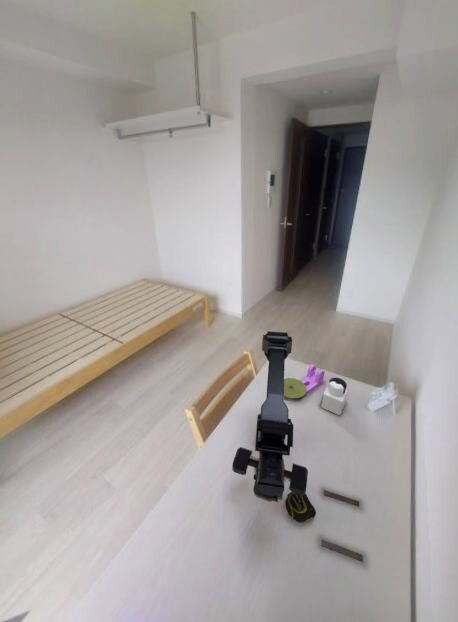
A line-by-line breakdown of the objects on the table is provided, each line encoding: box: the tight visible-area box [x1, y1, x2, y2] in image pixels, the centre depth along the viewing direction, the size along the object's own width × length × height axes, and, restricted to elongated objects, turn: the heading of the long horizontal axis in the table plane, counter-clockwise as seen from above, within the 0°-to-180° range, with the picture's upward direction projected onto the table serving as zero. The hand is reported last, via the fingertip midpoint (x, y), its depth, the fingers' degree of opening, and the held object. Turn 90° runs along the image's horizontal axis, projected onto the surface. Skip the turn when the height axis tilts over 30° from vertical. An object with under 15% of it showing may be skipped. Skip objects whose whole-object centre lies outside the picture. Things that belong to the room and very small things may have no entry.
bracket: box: [300, 363, 326, 395], centre depth 111 cm, size 13×6×7 cm, turn 128°
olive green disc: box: [284, 377, 307, 399], centre depth 110 cm, size 11×11×2 cm
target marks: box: [321, 489, 364, 562], centre depth 69 cm, size 9×13×1 cm
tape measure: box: [284, 491, 317, 523], centre depth 71 cm, size 7×7×4 cm
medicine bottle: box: [320, 377, 349, 416], centre depth 101 cm, size 7×7×12 cm
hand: (267, 487), depth 73 cm, fingers closed
